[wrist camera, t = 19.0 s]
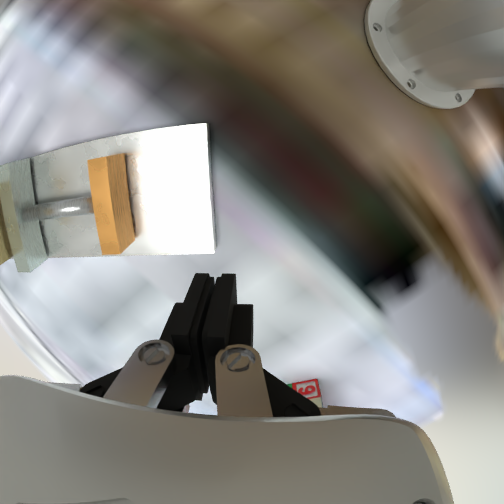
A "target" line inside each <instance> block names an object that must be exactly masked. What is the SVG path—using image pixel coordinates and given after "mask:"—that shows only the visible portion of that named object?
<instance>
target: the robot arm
mask: <svg viewBox="0 0 504 504" xmlns="http://www.w3.org/2000/svg"><path fill="white" fill-rule="evenodd" d="M364 22H365V33H366V36H367V40H368V44H369V46H370V48H371V50H372V53H373V55H374V57H375V58H376V60H377V62H378V63H379V65H380V67H381V68H382V70H383V71H384V72H385V73H386V75H387V76H388V77H389V79H390V80H391V81H392V82H393V83H394V84H395V85H396V86H397V87H398V88H399V89H400V90H401V91H403V92H404V93H405V94H407V95H408V96H409V97H410V98H412V99H414V100H416V101H417V102H419V103H421V104H423V105H426V106H429V107H431V108H438V109H452V108H456V107H460V106H462V105H463V104H465V103H467V101H468V100H469V99H470V98H471V97H472V95H473V93H474V91H475V89H482V88H500V87H501V88H503V89H504V0H371V1H370V2H369V5H368V7H367V9H366V12H365V19H364ZM209 386H210V391H211V394H212V399H213V402H214V403H215V404H216V405H217V412H218V416H217V415H205V414H194V413H188V412H189V407H190V406H189V403H191V402H193V401H195V400H200V401H202V396H203V393H208V389H209ZM0 504H454V502H453V498H452V494H451V490H450V486H449V483H448V480H447V477H446V475H445V471H444V468H443V466H442V463H441V461H440V458H439V456H438V454H437V451H436V449H435V447H434V445H433V444H432V442H431V440H430V438H429V437H428V436H427V434H426V433H425V432H424V431H423V430H422V429H421V428H420V427H419V426H417V425H416V424H414V423H412V422H409V421H406V420H403V419H399V418H396V417H395V416H394V414H393V413H391V412H389V411H388V410H384V409H372V408H354V407H341V406H330V405H328V407H327V408H321V407H318V406H317V405H316V404H315V403H313V402H312V401H311V400H309V399H308V398H306V397H305V396H303V395H301V394H300V393H298V392H297V391H295V390H294V389H292V388H291V387H289V386H288V385H286V384H285V383H284V382H282V381H281V380H279V379H278V378H276V377H275V376H273V375H272V374H270V373H269V372H268V371H266V370H265V369H263V368H262V363H261V358H260V355H259V353H258V352H257V351H256V350H255V349H254V348H253V304H237V290H236V274H222V276H221V277H217V279H216V283H215V282H214V277H210V276H209V273H196V274H195V276H194V278H193V280H192V283H191V285H190V287H189V290H188V292H187V295H186V297H185V300H184V302H183V303H175V305H174V307H173V309H172V312H171V314H170V316H169V318H168V321H167V323H166V325H165V328H164V330H163V332H162V335H161V337H160V339H159V340H150V341H147V342H144V343H143V344H141V345H140V346H139V347H138V348H137V349H136V350H135V351H134V353H133V354H132V356H131V357H130V358H129V360H128V361H127V363H126V364H125V366H124V367H123V368H121V369H119V370H116V371H114V372H112V373H110V374H107V375H105V376H103V377H101V378H98V379H96V380H94V381H92V382H89V383H88V384H86V385H85V386H84V387H82V386H81V384H65V383H51V382H44V381H41V380H37V379H34V378H29V377H24V376H16V375H6V376H0Z"/></svg>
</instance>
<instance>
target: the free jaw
mask: <svg viewBox="0 0 504 504" xmlns="http://www.w3.org/2000/svg"><path fill="white" fill-rule="evenodd" d="M87 163H88V172H89V181H90V189H91V196H87V197H80V198H74V199H67V200H61V201H55V202H49V203H43V204H38V205H35V199H34V192H33V186H32V178H31V169H30V159H29V158H27V159H22V160H18V161H14V162H10V163H7V164H4V165H1V166H0V199H1V205H2V210H3V216H4V220H5V225H6V230H7V234H8V238H9V242H10V246H11V249H12V253H13V257H14V260H15V263H16V267H17V270H18V272H32V271H33V270H34V269H35V268H37V267H38V266H39V265H41V264H42V263H43V262H44V261H46V260H47V259H48V258H47V254H46V250H45V247H44V243H43V238H42V234H41V230H40V225H39V220H46V219H54V218H62V217H71V216H80V215H89V214H94V215H95V221H96V226H97V232H98V237H99V242H100V246H101V251H102V255H116V254H121V253H122V252H123V251H124V250H125V249H126V248H127V247H128V246H129V245H130V244H131V243H133V242H134V241H135V235H134V229H133V222H132V216H131V209H130V201H129V193H128V185H127V175H126V165H125V153H122V154H116V155H110V156H105V157H99V158H94V159H90V160H87Z"/></svg>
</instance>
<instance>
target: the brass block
mask: <svg viewBox="0 0 504 504" xmlns="http://www.w3.org/2000/svg"><path fill="white" fill-rule="evenodd" d="M11 257H13V253H12V249H11V246H10V242H9V238H8V234H7V230H6V225H5V220H4V216H3V210H2V205H1V199H0V265H1V264H3V263H4V262H5V261H7V260H8V259H10V258H11Z"/></svg>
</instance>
